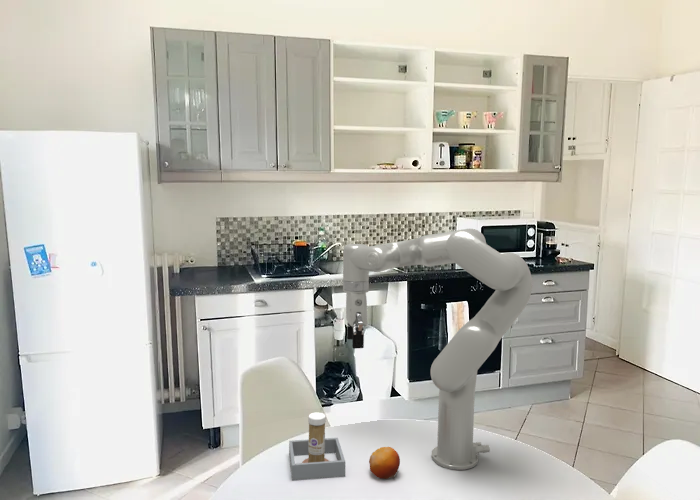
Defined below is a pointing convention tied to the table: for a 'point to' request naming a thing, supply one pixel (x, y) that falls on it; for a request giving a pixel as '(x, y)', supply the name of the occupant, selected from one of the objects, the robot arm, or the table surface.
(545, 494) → the table surface
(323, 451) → the sprinkles bottle
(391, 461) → the fruit
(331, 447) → the grey square tray
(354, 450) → the table surface
